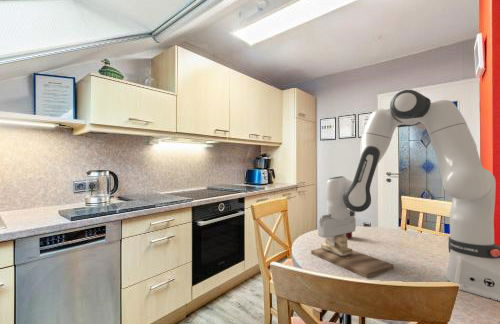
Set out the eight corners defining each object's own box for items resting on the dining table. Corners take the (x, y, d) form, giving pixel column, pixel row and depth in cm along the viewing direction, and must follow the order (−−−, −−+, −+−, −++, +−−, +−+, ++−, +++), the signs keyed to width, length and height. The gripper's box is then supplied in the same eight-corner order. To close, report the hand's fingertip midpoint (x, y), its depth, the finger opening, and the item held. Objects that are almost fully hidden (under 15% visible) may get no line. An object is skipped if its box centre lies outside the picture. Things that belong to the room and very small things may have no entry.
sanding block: (352, 253, 105) (352, 237, 105) (342, 256, 102) (342, 239, 102) (330, 246, 115) (330, 231, 115) (321, 248, 112) (321, 233, 112)
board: (393, 268, 94) (393, 264, 94) (366, 278, 86) (366, 273, 86) (336, 247, 119) (336, 244, 119) (311, 253, 111) (311, 250, 111)
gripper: (325, 217, 100) (325, 250, 100) (358, 211, 110) (358, 242, 110) (314, 214, 106) (314, 246, 106) (346, 209, 116) (347, 239, 116)
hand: (337, 244), depth 108 cm, fingers closed on sanding block, 4 cm apart
